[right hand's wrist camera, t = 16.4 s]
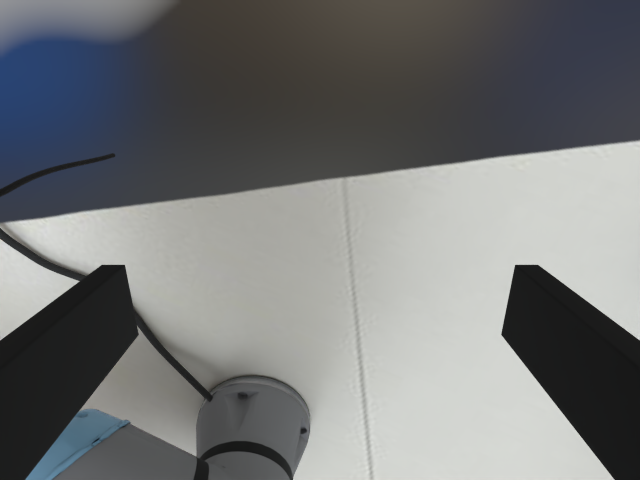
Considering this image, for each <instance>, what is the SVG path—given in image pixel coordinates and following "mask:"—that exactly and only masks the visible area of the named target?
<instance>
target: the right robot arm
mask: <svg viewBox="0 0 640 480" xmlns="http://www.w3.org/2000/svg"><path fill="white" fill-rule="evenodd" d="M113 157H115V154H114V153H112V154H108V155H104V156H100V157H96V158H91V159H86V160H81V161H76V162H71V163H67V164H62V165H58V166H54V167H51V168H47V169H44V170H41V171H38V172H35V173H33V174H30V175H27V176H25V177H23V178H21V179H19V180H17V181H15V182H13V183H11V184H9V185H7V186H5V187H3V188H1V189H0V197H1V196H3V195H6V194H8V193H9V192H11V191H13V190H15V189H17V188H18V187H20V186H22V185H24V184H26V183H28V182H30V181H32V180H35V179H37V178H39V177H42V176H45V175H47V174H50V173H53V172H57V171H60V170H64V169H68V168H72V167H77V166H82V165H86V164H91V163H95V162H99V161H103V160H107V159H110V158H113ZM0 239H1V240H3V241H4V242H5V243H7V244H8V245H10V246H11V247H12V248H14V249H16V250H17V251H19V252H20V253H22V254H23V255H25V256H26V257H28V258H29V259H31V260H32V261H34V262H36V263H37V264H39V265H41V266H43V267H45V268H47V269H49V270H51V271H54V272H56V273H59V274H62V275H64V276H67V277H70V278H73V279H76V280H78V281H80V282H78V283H77V284H76V285H74V286H73V287H72V288H70V289H69V290H68V291H66V292H65V293H64V294H62V295H61V296H60V297H58V298H57V299H56V300H54V301H53V302H52V303H50V304H49V305H48V306H46V307H45V308H43V309H42V310H41V311H39V312H38V313H37V314H35V315H34V316H33V317H31V318H30V319H29V320H27V321H26V322H25V323H23V324H22V325H21V326H19V327H18V328H17V329H15V330H14V331H13V332H11V333H10V334H9V335H7V336H6V337H5V338H3V339H2V340H0V480H293V476H294V474H295V471H296V469H297V467H298V464H299V462H300V460H301V457H302V455H303V453H304V450H305V448H306V445H307V442H308V438H309V433H310V415H309V411H308V408H307V406H306V404H305V402H304V400H303V399H302V398H301V397H300V395H299V394H298V393H297V392H296V391H294V390H293V389H292V388H290V387H289V386H287V385H286V384H284V383H282V382H279V381H277V380H274V379H271V378H267V377H261V376H243V377H238V378H233V379H230V380H228V381H225V382H223V383H221V384H220V385H218V386H217V387H215V388H214V389H213V390H212V391H211V392H210V393H209V392H208V391H207V390H206V389H205V388H204V387H203V386H202V385H201V384H200V383H199V382H198V381H197V380H196V379H195V378H194V377H193V376H192V375H191V374H190V373H189V372H188V371H187V370H186V369H185V368H184V367H183V366H182V365H181V364H180V363H178V362H177V361H176V360H175V359H174V357H173V356H172V355H171V354H170V353H169V352H168V351H167V350H166V349H165V348H164V347H163V346H162V345H161V344H160V343H159V341H158V340H157V339H156V338H155V337H154V335H153V334H152V333H151V331H150V330H149V329H148V327H147V326H146V325H145V323H144V322H143V321H142V319H141V318H140V317H139V315H138V314H137V313H136V312H135V311H134V309H133V304H132V299H131V294H130V289H129V284H128V279H127V274H126V269H125V265H101V266H100V267H99V268H97V269H96V270H95V271H93V272H92V273H91V274H89V275H88V276H84V275H82V274H79V273H76V272H73V271H71V270H68V269H65V268H62V267H60V266H57V265H55V264H53V263H51V262H49V261H47V260H45V259H43V258H42V257H40V256H38V255H37V254H35V253H34V252H32V251H31V250H29V249H28V248H26V247H25V246H23V245H22V244H20V243H19V242H17V241H16V240H14V239H13V238H12V237H10V236H9V235H8V234H6V233H5V232H4V231H3V230H2V229H1V228H0ZM137 326H138V327H139V328H140V330H141V331H142V332H143V334H144V335H145V336H146V338H147V339H148V340H149V341H150V343H151V344H152V345H153V346H154V347H155V348H156V350H157V351H158V352H159V353H160V354H161V355H162V356H163V357H164V358H165V359H166V360H167V361H168V362H169V363H170V364H171V365H172V366H173V367H174V368H175V369H176V370H177V371H178V372H179V373H180V374H181V375H182V376H183V377H184V378H185V379H186V380H187V381H188V382H189V383H190V384H191V385H192V386H193V387H194V388H195V389H196V390H197V391H198V392H199V393H200V394H201V395H202V396H203V397H204V398H205V400H204V402H203V404H202V406H201V409H200V412H199V415H198V419H197V426H196V446H197V457H196V456H194V455H192V454H190V453H188V452H186V451H184V450H182V449H180V448H178V447H176V446H173V445H171V444H169V443H167V442H165V441H163V440H161V439H159V438H157V437H155V436H153V435H151V434H149V433H147V432H145V431H143V430H141V429H139V428H137V427H135V426H133V425H131V424H130V423H131V422H130V421H128V420H121V419H118V418H116V417H113V416H111V415H109V414H106V413H104V412H101V411H99V410H96V409H86V410H82V411H79V410H80V409H81V408H82V406H83V405H84V404H85V403H86V401H87V400H88V399H89V398H90V396H91V395H92V394H93V392H94V391H95V390H96V389H97V387H98V386H99V385H100V383H101V382H102V381H103V380H104V378H105V377H106V376H107V374H108V373H109V372H110V371H111V369H112V368H113V367H114V366H115V364H116V363H117V362H118V360H119V359H120V358H121V357H122V355H123V354H124V353H125V351H126V350H127V349H128V348H129V346H130V345H131V344H132V343H133V341H134V340H135V339H136V337H137V336H138V335H139V334H138V329H137ZM501 335H502V336H503V337H504V339H505V340H506V341H507V343H508V344H509V345H510V346H511V348H512V349H513V350H514V351H515V353H516V354H517V355H518V357H519V358H520V359H521V360H522V362H523V363H524V364H525V366H526V367H527V368H528V369H529V371H530V372H531V373H532V374H533V376H534V377H535V378H536V380H537V381H538V382H539V383H540V385H541V386H542V387H543V389H544V390H545V391H546V392H547V394H548V395H549V396H550V398H551V399H552V400H553V401H554V403H555V404H556V405H557V406H558V408H559V409H560V410H561V412H562V413H563V414H564V415H565V417H566V418H567V419H568V421H569V422H570V423H571V424H572V426H573V427H574V428H575V429H576V431H577V432H578V433H579V435H580V436H581V437H582V438H583V440H584V441H585V442H586V444H587V445H588V446H589V447H590V449H591V450H592V451H593V453H594V454H595V455H596V456H597V458H598V459H599V460H600V461H601V463H602V464H603V465H604V467H605V468H606V469H607V470H608V472H609V473H610V474H611V476H612V477H613V478H614V479H615V480H640V340H638V339H637V338H635V337H634V336H633V335H631V334H630V333H629V332H627V331H626V330H625V329H623V328H622V327H621V326H619V325H618V324H617V323H615V322H614V321H613V320H611V319H610V318H609V317H607V316H606V315H605V314H603V313H602V312H601V311H599V310H598V309H597V308H595V307H594V306H592V305H591V304H590V303H588V302H587V301H586V300H584V299H583V298H582V297H580V296H579V295H578V294H576V293H575V292H574V291H572V290H571V289H570V288H568V287H567V286H566V285H564V284H563V283H562V282H560V281H559V280H558V279H556V278H555V277H554V276H552V275H551V274H549V273H548V272H547V271H545V270H544V269H543V268H541V267H540V266H539V265H515V269H514V274H513V279H512V284H511V289H510V294H509V299H508V304H507V309H506V314H505V319H504V324H503V329H502V334H501Z"/></svg>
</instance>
